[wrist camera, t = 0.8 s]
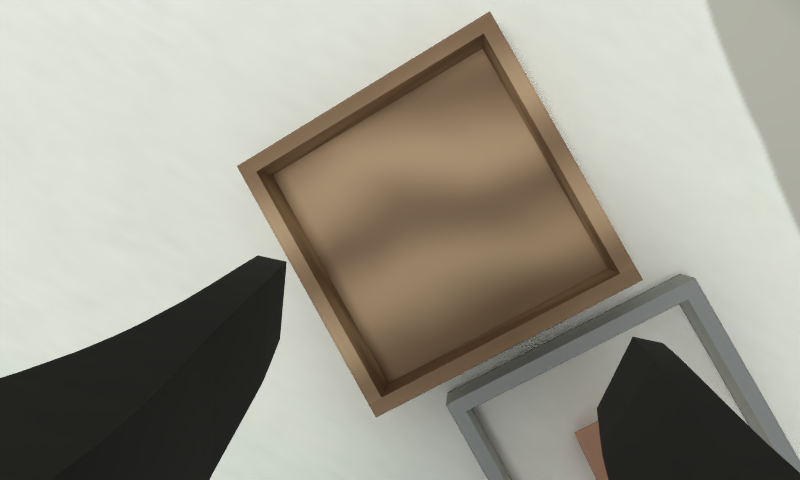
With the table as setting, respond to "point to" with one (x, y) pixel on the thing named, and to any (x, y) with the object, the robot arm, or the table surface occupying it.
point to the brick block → (593, 449)
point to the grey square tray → (602, 330)
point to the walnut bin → (438, 218)
